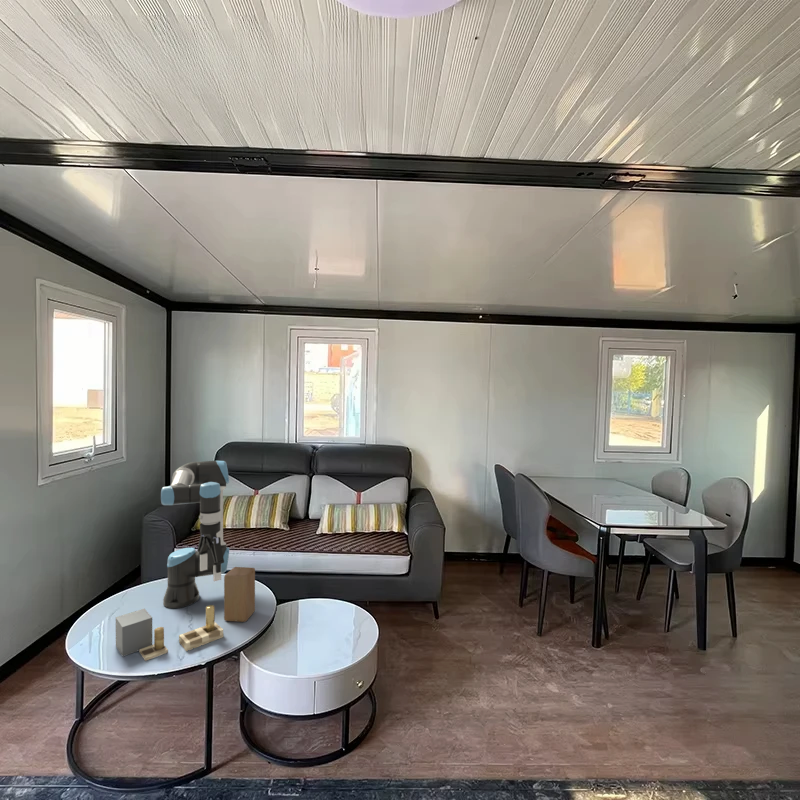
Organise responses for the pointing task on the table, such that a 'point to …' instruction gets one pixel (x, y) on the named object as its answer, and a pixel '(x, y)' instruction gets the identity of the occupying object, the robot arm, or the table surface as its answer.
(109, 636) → the table surface
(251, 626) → the table surface
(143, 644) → the block
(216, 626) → the board
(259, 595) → the table surface
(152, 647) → the tan base with post
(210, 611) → the pin
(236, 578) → the wooden block
